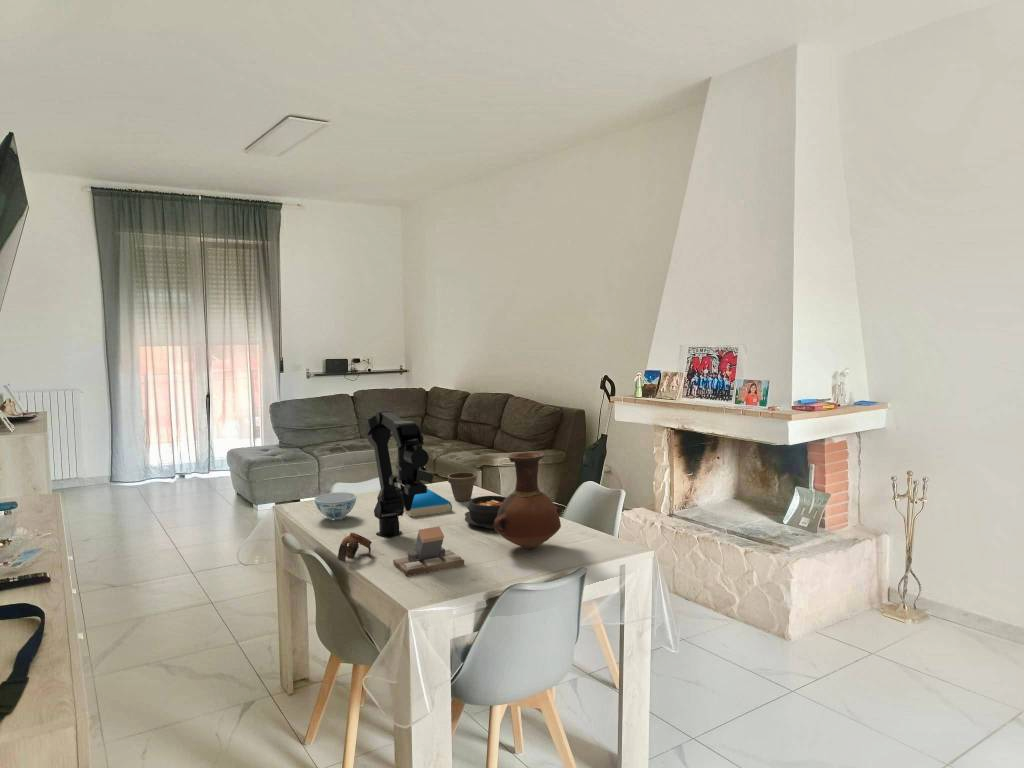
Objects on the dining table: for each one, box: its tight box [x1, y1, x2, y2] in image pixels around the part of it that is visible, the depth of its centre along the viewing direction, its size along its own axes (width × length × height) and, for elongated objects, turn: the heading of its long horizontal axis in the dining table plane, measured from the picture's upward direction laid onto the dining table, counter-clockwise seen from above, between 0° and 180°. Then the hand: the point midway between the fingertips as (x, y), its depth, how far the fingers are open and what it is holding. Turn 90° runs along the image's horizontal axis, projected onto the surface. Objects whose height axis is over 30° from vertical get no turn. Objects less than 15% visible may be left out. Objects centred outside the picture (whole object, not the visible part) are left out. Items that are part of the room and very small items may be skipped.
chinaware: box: [314, 491, 357, 520], centre depth 258 cm, size 15×15×8 cm
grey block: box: [413, 525, 445, 560], centre depth 206 cm, size 4×7×10 cm
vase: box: [493, 451, 562, 550], centre depth 220 cm, size 25×20×30 cm
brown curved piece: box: [337, 532, 372, 562], centre depth 214 cm, size 12×10×8 cm
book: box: [403, 488, 453, 517], centre depth 272 cm, size 17×4×25 cm
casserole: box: [464, 495, 507, 530], centre depth 248 cm, size 25×19×8 cm
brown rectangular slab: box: [392, 547, 465, 577], centre depth 207 cm, size 11×18×4 cm, turn 119°
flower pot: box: [447, 471, 477, 502], centre depth 282 cm, size 12×11×10 cm
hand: (408, 510), depth 222 cm, fingers closed
